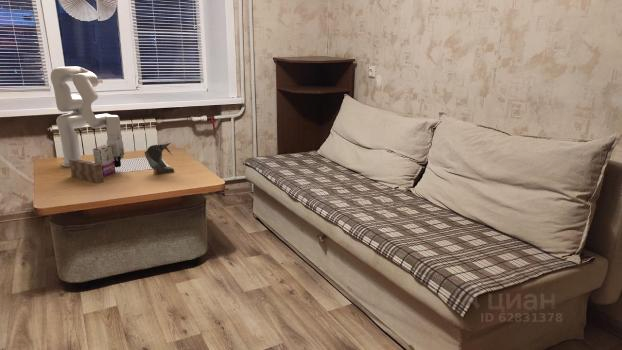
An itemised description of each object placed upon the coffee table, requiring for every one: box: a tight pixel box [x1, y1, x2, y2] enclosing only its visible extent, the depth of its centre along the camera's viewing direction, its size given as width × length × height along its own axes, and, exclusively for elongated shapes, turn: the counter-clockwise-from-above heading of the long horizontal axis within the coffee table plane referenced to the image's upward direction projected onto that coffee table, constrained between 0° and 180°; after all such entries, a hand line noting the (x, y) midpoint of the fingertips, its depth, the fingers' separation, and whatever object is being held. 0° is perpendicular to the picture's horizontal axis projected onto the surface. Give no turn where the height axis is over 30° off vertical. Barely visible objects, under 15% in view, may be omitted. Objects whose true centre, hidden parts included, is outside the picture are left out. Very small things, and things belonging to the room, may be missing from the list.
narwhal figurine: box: [144, 142, 175, 175], centre depth 260 cm, size 14×15×18 cm
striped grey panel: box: [69, 159, 104, 184], centre depth 247 cm, size 24×3×10 cm, turn 60°
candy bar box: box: [92, 144, 116, 178], centre depth 256 cm, size 11×5×16 cm, turn 168°
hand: (118, 166), depth 264 cm, fingers closed
